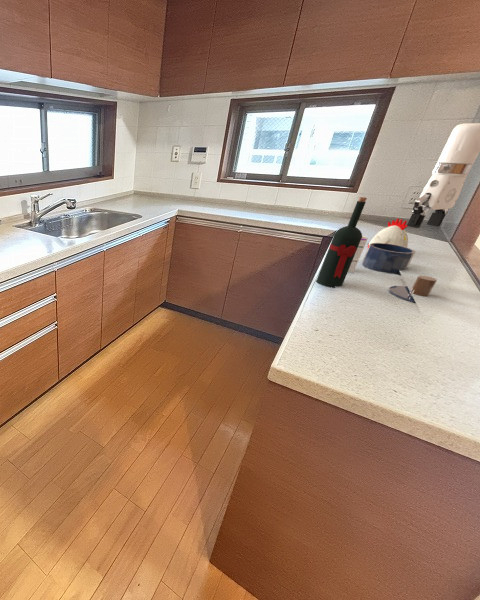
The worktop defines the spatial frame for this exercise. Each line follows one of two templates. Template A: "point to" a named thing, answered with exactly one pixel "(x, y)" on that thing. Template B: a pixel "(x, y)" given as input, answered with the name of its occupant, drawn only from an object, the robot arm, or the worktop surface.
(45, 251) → the worktop surface
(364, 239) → the syrup box
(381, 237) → the chicken figurine
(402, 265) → the pot
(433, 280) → the lid
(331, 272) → the wine bottle
